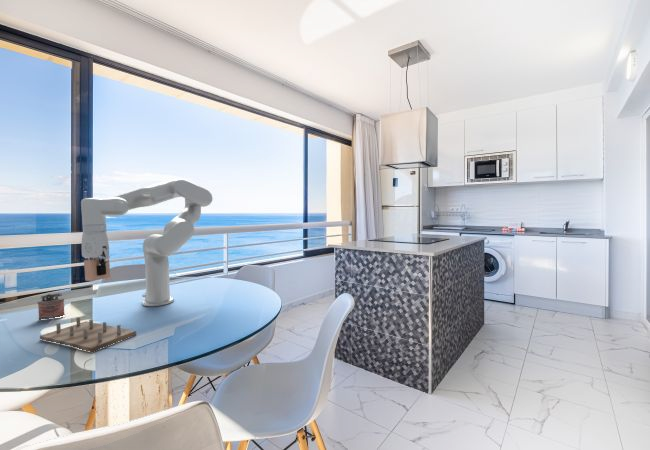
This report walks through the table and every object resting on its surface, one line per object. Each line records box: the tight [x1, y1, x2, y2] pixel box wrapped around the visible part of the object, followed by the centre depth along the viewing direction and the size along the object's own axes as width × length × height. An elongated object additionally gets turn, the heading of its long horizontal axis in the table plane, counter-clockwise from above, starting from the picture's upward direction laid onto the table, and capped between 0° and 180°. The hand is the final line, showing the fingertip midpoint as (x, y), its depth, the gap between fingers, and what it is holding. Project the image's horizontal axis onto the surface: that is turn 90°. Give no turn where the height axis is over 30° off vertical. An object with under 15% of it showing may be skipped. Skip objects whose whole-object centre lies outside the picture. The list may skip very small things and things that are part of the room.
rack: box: [39, 316, 137, 353], centre depth 102 cm, size 26×14×4 cm, turn 69°
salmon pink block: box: [83, 258, 111, 282], centre depth 122 cm, size 4×7×8 cm, turn 159°
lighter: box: [37, 292, 66, 320], centre depth 121 cm, size 8×3×10 cm, turn 117°
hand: (97, 274), depth 123 cm, fingers closed on salmon pink block, 4 cm apart
